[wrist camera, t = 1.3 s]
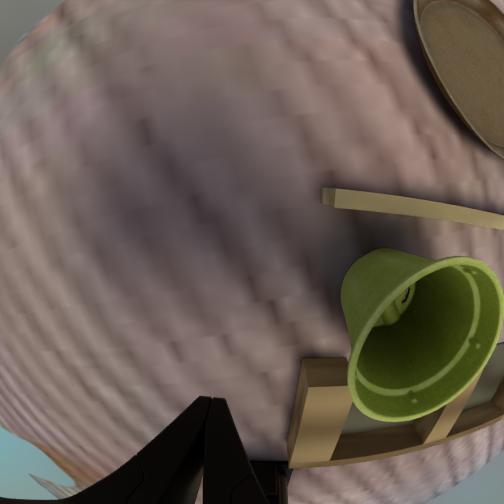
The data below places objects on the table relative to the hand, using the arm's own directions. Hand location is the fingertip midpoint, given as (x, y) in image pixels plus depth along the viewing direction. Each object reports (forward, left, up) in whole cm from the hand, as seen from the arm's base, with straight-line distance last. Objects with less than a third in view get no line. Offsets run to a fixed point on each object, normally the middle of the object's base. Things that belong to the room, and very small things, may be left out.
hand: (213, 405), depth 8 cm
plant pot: (0, -10, -12) cm, 15 cm away
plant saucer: (+20, -20, -12) cm, 31 cm away
